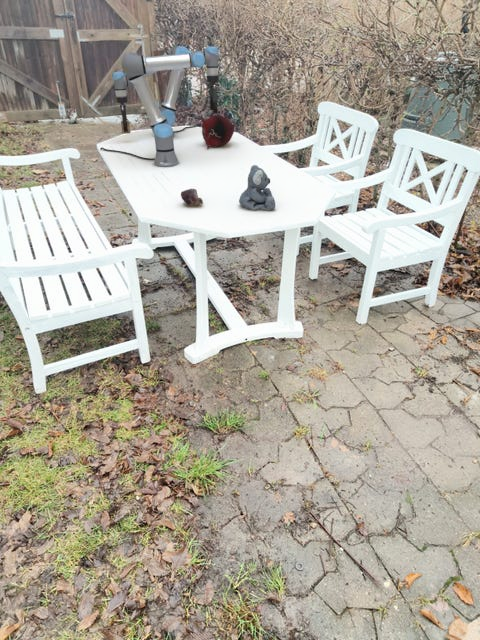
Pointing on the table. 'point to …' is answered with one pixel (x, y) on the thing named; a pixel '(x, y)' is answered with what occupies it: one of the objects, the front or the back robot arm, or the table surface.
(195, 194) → the rock
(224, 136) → the dark red rounded piece
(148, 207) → the table surface
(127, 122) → the block
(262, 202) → the koala plush
